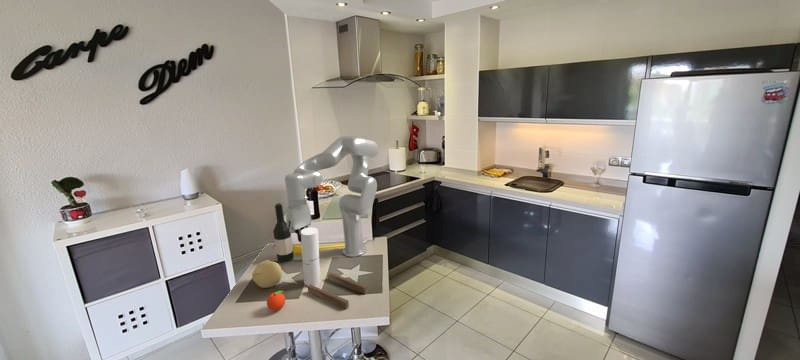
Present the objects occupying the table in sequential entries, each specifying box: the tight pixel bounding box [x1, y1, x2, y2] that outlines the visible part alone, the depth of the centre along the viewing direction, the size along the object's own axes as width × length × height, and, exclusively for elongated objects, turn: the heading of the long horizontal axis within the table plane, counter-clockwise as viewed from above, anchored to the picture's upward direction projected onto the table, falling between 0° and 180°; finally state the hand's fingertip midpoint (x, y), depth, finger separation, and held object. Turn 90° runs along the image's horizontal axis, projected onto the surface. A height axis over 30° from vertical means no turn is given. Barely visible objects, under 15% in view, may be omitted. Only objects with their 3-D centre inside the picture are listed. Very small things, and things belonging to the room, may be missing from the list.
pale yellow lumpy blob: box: [251, 259, 283, 289], centre depth 147 cm, size 11×12×11 cm
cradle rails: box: [307, 272, 368, 310], centre depth 139 cm, size 13×22×3 cm, turn 56°
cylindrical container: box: [300, 226, 321, 287], centre depth 144 cm, size 7×7×25 cm
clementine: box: [266, 290, 286, 312], centre depth 130 cm, size 8×7×7 cm
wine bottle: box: [272, 203, 295, 264], centre depth 166 cm, size 8×8×30 cm
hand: (302, 241), depth 145 cm, fingers closed
